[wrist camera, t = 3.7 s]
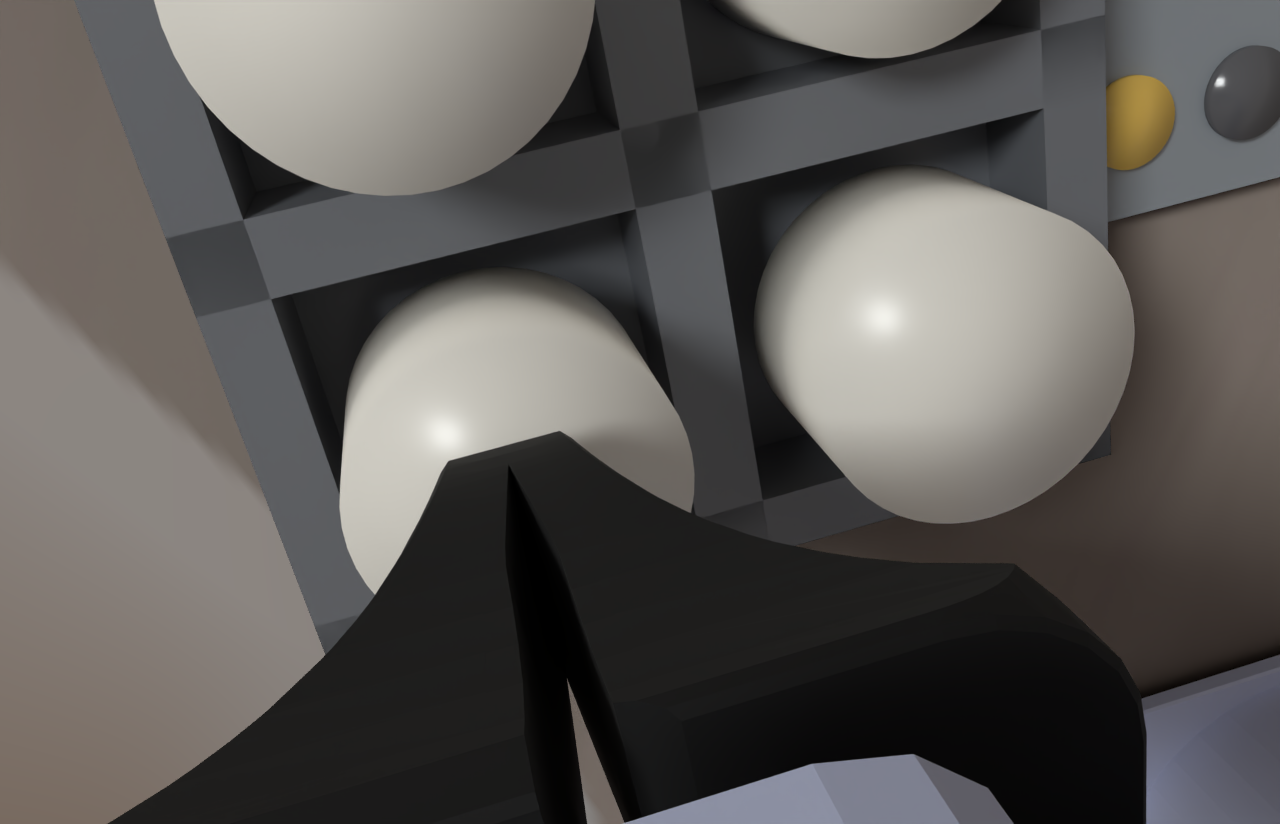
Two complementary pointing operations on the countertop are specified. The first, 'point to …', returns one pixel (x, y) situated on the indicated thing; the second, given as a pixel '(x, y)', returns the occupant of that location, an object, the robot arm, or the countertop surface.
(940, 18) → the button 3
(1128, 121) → the tile
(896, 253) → the cream rounded dome
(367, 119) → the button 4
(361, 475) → the cream round ball
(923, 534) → the countertop surface
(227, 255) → the tray
